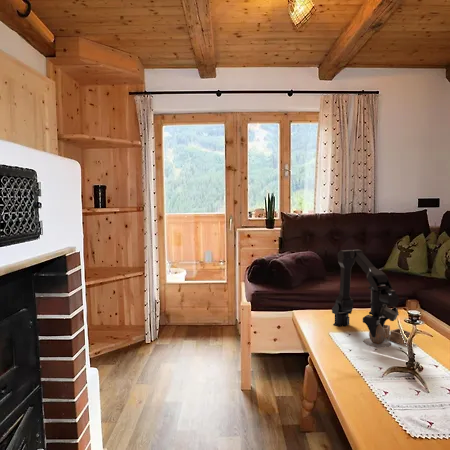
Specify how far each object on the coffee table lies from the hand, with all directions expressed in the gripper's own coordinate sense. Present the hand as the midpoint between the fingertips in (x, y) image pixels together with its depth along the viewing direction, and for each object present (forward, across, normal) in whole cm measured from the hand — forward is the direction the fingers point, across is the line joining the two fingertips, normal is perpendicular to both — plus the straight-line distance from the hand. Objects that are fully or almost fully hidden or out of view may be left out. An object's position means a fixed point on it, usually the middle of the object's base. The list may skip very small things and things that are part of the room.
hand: (377, 334), depth 173 cm
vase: (+4, 0, 0) cm, 4 cm away
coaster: (+4, 0, 0) cm, 4 cm away
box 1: (+4, +11, +2) cm, 12 cm away
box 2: (+4, +9, -7) cm, 12 cm away
